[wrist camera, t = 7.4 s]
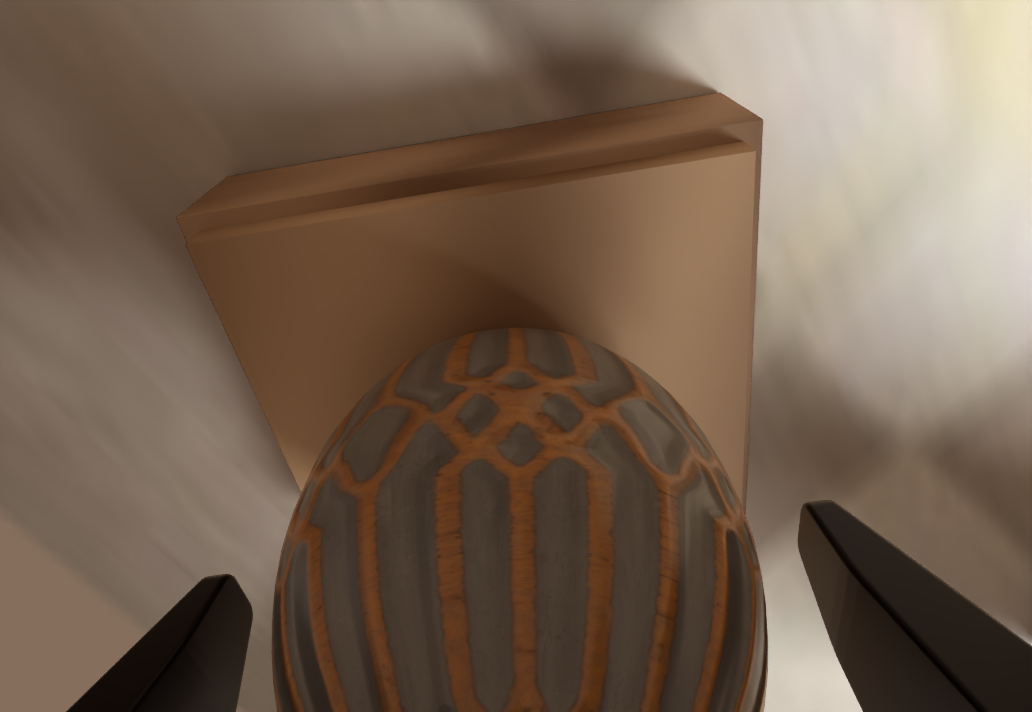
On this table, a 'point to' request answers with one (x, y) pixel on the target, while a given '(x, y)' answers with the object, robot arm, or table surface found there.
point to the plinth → (497, 260)
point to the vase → (519, 545)
